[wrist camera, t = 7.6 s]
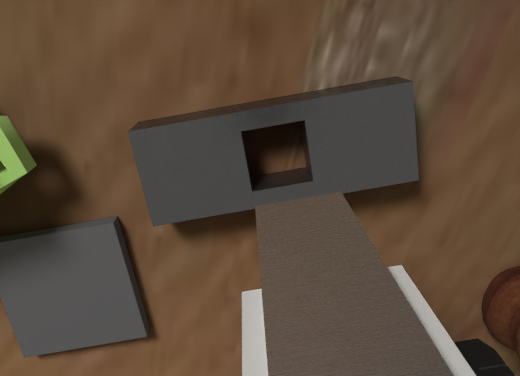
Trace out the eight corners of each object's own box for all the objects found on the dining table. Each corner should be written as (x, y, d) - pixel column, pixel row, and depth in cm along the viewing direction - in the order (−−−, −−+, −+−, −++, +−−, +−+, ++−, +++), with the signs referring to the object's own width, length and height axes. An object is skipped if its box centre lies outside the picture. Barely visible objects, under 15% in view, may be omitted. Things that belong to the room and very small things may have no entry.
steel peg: (255, 206, 21) (282, 555, 7) (341, 191, 21) (539, 515, 7) (269, 281, 23) (315, 702, 9) (350, 267, 23) (533, 669, 8)
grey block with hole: (138, 122, 39) (127, 131, 36) (396, 76, 39) (412, 81, 35) (160, 208, 42) (153, 226, 38) (402, 166, 42) (418, 180, 38)
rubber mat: (-13, 238, 42) (-21, 246, 41) (117, 216, 42) (113, 222, 41) (31, 347, 46) (24, 357, 45) (149, 327, 46) (147, 336, 44)
